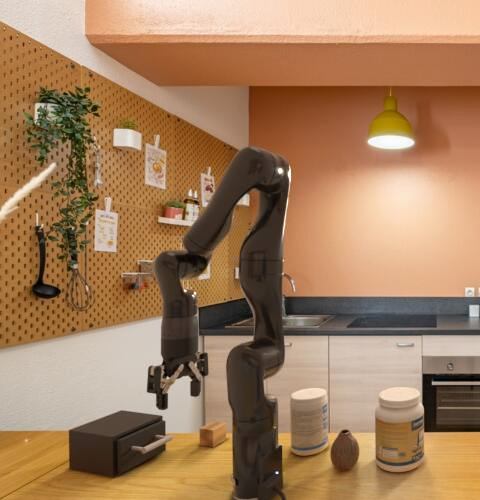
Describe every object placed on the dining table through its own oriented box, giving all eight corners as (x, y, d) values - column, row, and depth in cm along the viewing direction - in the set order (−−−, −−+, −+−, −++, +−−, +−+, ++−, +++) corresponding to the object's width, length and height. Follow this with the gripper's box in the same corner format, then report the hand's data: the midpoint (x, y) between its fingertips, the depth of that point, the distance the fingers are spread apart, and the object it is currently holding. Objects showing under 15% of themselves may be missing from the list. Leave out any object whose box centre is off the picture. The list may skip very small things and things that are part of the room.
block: (226, 439, 114) (226, 423, 114) (213, 447, 109) (212, 430, 109) (213, 437, 115) (213, 421, 115) (199, 445, 111) (199, 428, 111)
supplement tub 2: (423, 474, 95) (423, 402, 95) (371, 475, 95) (371, 403, 95) (425, 448, 107) (424, 385, 107) (379, 449, 107) (378, 385, 107)
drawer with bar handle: (180, 452, 105) (180, 422, 105) (136, 476, 94) (136, 443, 94) (127, 443, 110) (127, 415, 110) (80, 465, 99) (79, 433, 99)
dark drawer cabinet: (163, 451, 107) (162, 415, 107) (113, 477, 95) (112, 437, 95) (122, 444, 111) (121, 410, 111) (69, 469, 99) (68, 429, 99)
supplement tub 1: (332, 450, 107) (332, 395, 107) (295, 461, 102) (295, 402, 102) (321, 436, 115) (321, 385, 115) (286, 445, 110) (286, 391, 110)
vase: (364, 461, 101) (364, 426, 101) (351, 476, 94) (350, 439, 94) (339, 458, 103) (339, 423, 103) (324, 472, 96) (324, 435, 96)
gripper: (164, 342, 88) (163, 416, 88) (217, 329, 102) (216, 393, 102) (138, 339, 90) (137, 412, 90) (193, 327, 104) (192, 390, 104)
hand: (179, 402), depth 96 cm, fingers open, 8 cm apart
